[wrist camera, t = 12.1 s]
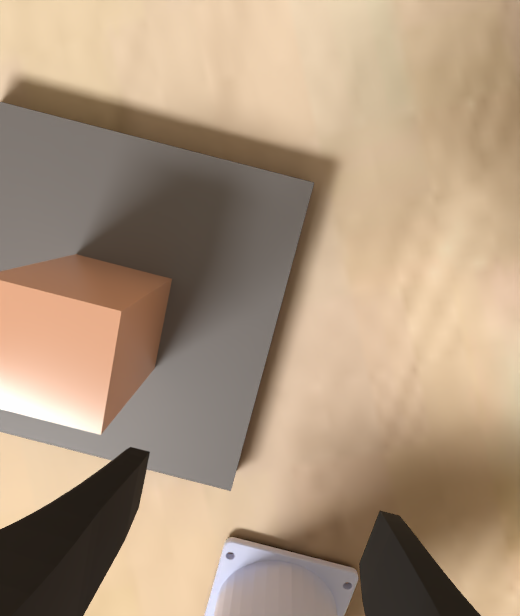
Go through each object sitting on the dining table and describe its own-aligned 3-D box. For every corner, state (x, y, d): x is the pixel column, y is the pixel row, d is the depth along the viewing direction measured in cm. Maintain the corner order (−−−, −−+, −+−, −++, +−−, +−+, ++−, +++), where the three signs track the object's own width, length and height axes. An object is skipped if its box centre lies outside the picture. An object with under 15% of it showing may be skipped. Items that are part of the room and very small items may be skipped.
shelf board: (234, 472, 23) (230, 490, 21) (-25, 406, 23) (-46, 419, 21) (312, 184, 19) (314, 182, 17) (-2, 103, 19) (-26, 95, 17)
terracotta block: (154, 368, 20) (100, 434, 14) (63, 345, 20) (-28, 401, 14) (172, 278, 19) (121, 311, 13) (75, 253, 19) (-19, 275, 13)
